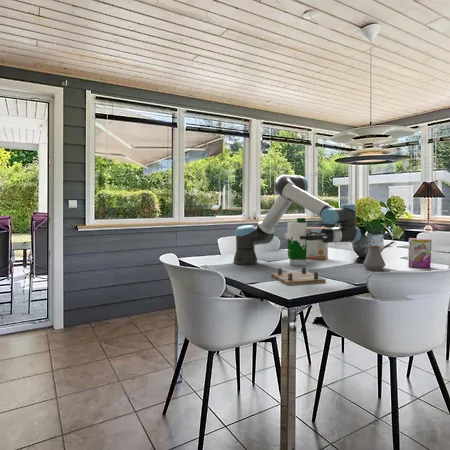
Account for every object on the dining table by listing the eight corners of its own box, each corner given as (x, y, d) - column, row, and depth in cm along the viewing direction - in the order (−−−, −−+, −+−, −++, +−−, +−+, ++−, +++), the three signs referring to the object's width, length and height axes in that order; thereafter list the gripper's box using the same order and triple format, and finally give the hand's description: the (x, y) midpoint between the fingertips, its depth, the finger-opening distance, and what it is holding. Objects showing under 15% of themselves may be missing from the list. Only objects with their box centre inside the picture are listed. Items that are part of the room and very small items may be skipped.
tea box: (306, 265, 213) (306, 241, 212) (289, 265, 215) (289, 241, 214) (306, 261, 228) (306, 238, 227) (290, 261, 230) (290, 238, 229)
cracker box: (328, 258, 237) (328, 227, 236) (325, 259, 232) (325, 228, 231) (307, 257, 245) (307, 226, 243) (304, 258, 240) (304, 227, 238)
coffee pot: (374, 271, 193) (374, 244, 192) (358, 268, 204) (359, 242, 203) (402, 268, 202) (403, 242, 201) (386, 265, 212) (387, 240, 211)
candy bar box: (408, 267, 204) (409, 239, 203) (407, 265, 209) (408, 238, 208) (431, 268, 201) (431, 239, 200) (429, 266, 206) (429, 238, 204)
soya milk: (308, 259, 173) (308, 218, 171) (290, 260, 172) (290, 219, 171) (303, 256, 182) (303, 217, 180) (285, 257, 181) (285, 218, 179)
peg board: (271, 276, 185) (271, 267, 185) (306, 273, 190) (307, 265, 189) (286, 285, 166) (286, 275, 165) (325, 282, 170) (325, 273, 170)
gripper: (342, 245, 170) (298, 247, 165) (320, 240, 191) (280, 241, 186) (342, 229, 169) (298, 231, 164) (320, 226, 190) (280, 227, 185)
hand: (289, 236), depth 175 cm, fingers closed on soya milk, 9 cm apart
